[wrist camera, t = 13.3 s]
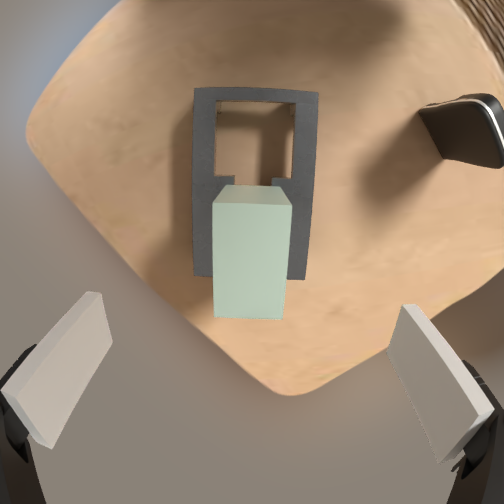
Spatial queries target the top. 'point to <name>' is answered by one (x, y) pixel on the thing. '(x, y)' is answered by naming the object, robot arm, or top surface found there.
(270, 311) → the pale green boxy piece
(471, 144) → the battery charger
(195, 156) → the keyhole plate
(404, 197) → the top surface
